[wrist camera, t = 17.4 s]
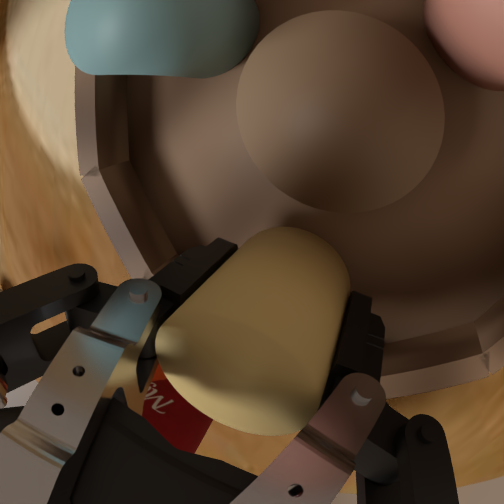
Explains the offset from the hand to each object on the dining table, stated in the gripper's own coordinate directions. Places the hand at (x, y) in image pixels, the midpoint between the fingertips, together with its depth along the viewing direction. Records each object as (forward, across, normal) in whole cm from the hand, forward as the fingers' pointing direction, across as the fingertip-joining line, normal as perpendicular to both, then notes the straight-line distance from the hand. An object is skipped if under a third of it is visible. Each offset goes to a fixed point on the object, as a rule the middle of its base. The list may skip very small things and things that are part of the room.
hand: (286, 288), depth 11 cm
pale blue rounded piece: (+2, +6, -8) cm, 10 cm away
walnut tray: (+3, 0, -6) cm, 7 cm away
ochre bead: (0, 0, 0) cm, 0 cm away
